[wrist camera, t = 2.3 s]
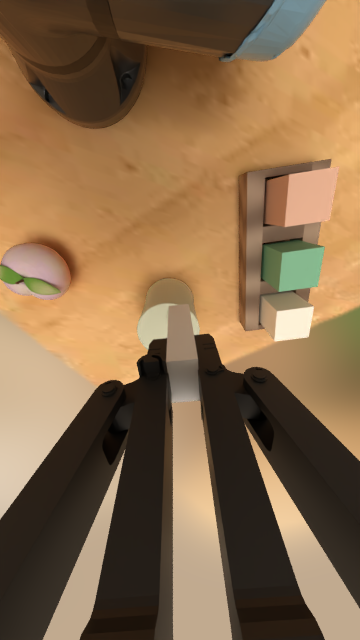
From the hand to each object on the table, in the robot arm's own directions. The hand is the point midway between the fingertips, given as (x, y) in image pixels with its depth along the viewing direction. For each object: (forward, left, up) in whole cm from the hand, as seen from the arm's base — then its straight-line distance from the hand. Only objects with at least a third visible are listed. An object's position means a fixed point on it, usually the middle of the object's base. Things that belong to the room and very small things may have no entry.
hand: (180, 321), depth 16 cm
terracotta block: (-6, +17, -21) cm, 27 cm away
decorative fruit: (-2, -21, -24) cm, 32 cm away
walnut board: (+2, +17, -24) cm, 29 cm away
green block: (+2, +17, -21) cm, 27 cm away
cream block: (+11, +17, -21) cm, 28 cm away
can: (+8, -2, -24) cm, 25 cm away
